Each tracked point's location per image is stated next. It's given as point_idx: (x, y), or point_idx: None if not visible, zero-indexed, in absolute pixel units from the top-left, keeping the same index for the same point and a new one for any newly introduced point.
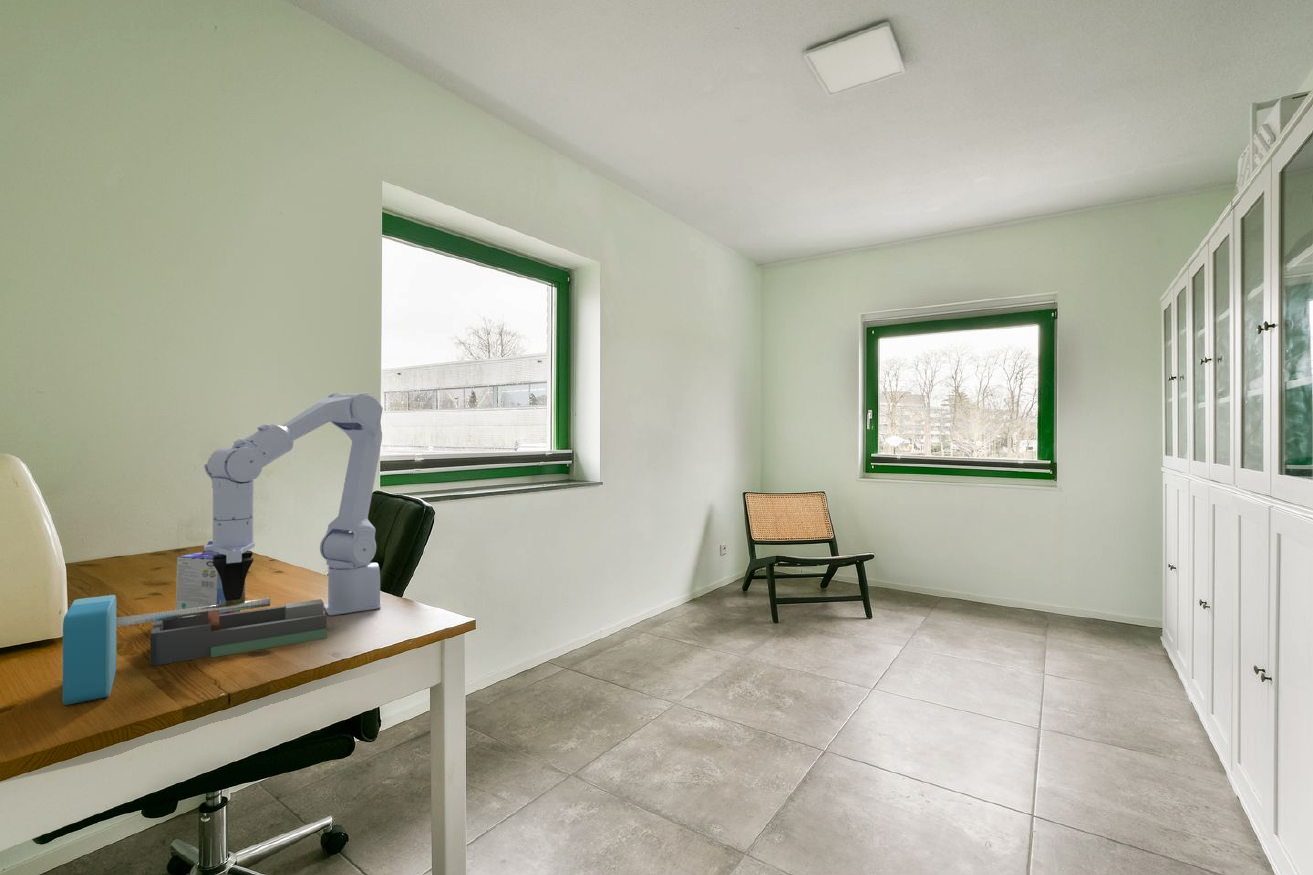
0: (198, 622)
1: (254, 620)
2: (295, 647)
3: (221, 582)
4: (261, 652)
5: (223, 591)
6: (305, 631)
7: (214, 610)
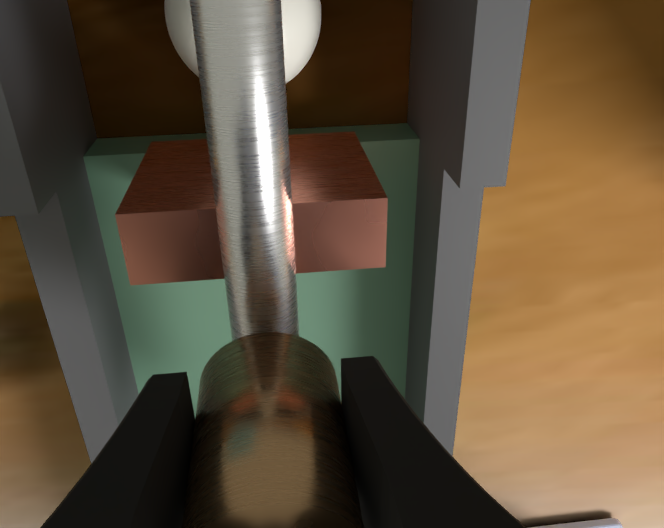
0: (442, 82)
1: (412, 344)
2: (54, 452)
3: (55, 514)
4: (32, 346)
5: (119, 430)
6: None
7: (212, 249)
